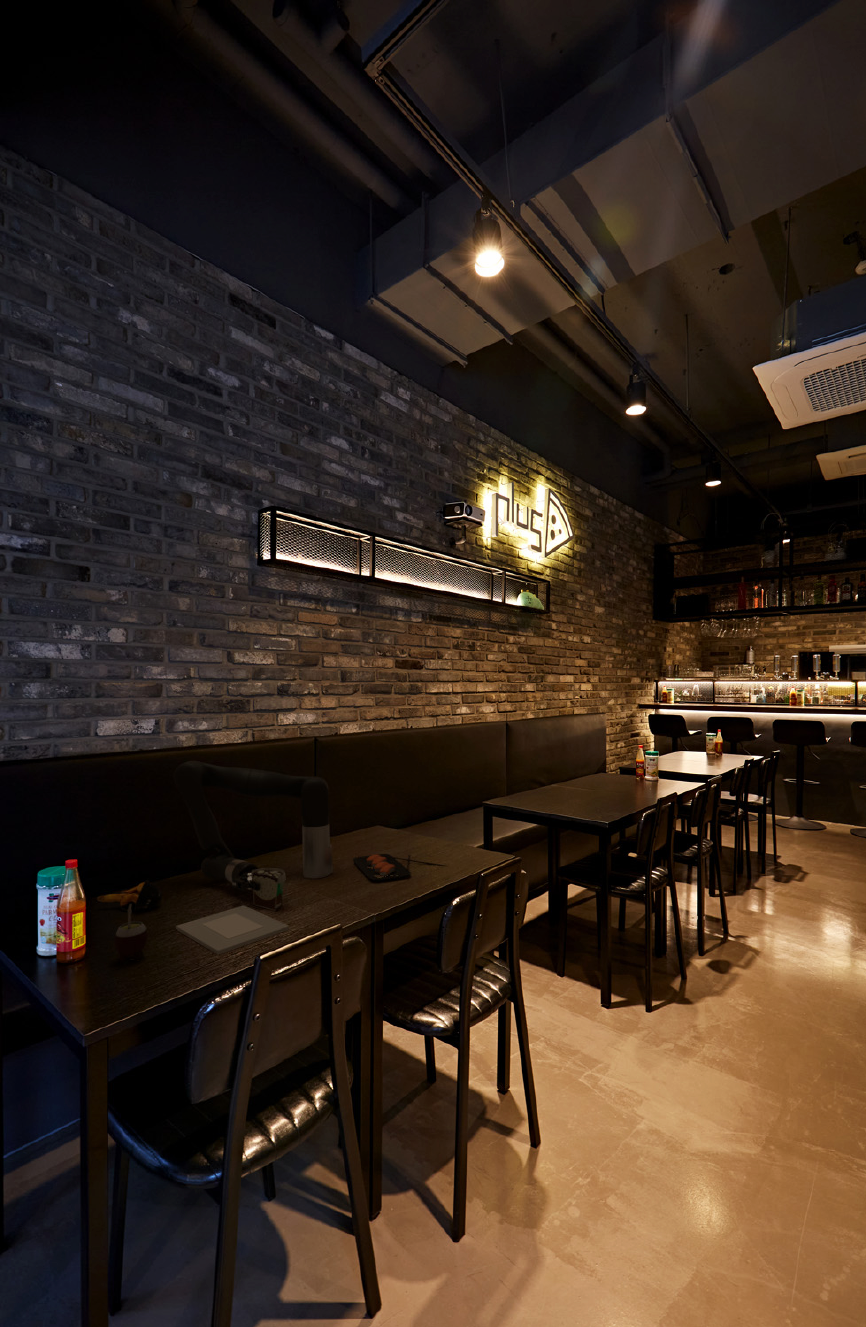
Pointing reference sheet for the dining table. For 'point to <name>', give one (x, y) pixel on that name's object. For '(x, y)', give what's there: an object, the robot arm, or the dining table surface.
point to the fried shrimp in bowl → (136, 897)
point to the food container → (268, 887)
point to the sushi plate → (384, 866)
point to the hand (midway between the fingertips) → (269, 884)
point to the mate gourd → (130, 939)
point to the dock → (231, 929)
